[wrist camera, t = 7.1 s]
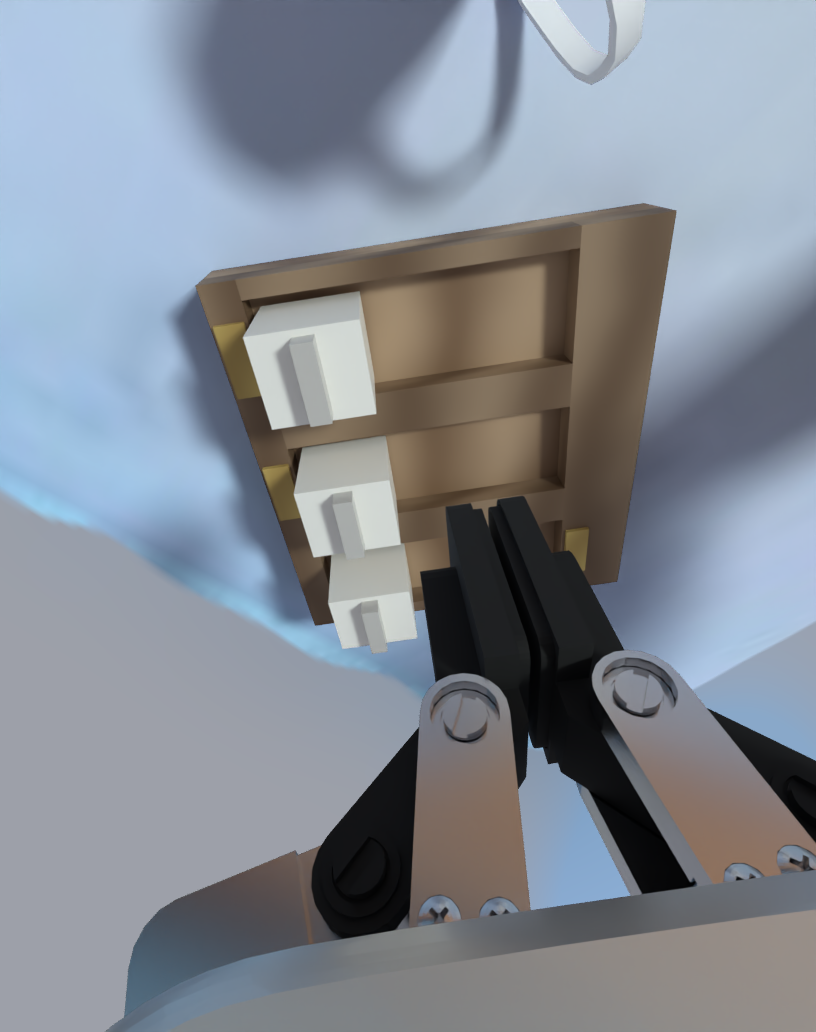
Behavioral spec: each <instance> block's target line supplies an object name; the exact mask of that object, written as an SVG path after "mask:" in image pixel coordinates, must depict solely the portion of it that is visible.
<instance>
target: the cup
mask: <svg viewBox="0 0 816 1032" xmlns="http://www.w3.org/2000/svg"><path fill="white" fill-rule="evenodd" d="M518 2H519V3H520V5H521V7H522V8H523V10H524V11H525V13H526V14H527V16H528V17H529V19H530V20H531V22H532V23H533V24H534V26H535V27H536V29H537V30H538V32H539V33H540V34H541V36H542V37H543V39H544V40H545V41H546V43H547V44H548V46H549V47H550V48H551V50H552V51H553V52H554V54H555V55H556V57H557V58H558V59H559V60H560V62H561V63H562V64H563V65H564V66H565V67H566V68H567V69H568V70H569V71H570V72H571V73H572V75H573V76H574V77H575V78H577V79H579V80H581V81H583V82H586V83H588V84H590V85H593V84H594V83H596V82H598V81H600V80H602V79H604V78H605V77H606V76H607V75H608V74H609V73H611V72H612V71H613V70H614V69H615V68H616V67H617V66H619V65H620V64H621V63H622V62H623V61H624V60H626V59H627V58H628V56H629V55H630V53H631V52H632V51H633V49H634V48H635V46H636V45H637V44H638V42H639V41H640V39H641V35H642V27H643V18H644V10H645V0H606V4H607V9H608V14H609V18H610V22H609V45H608V55H607V54H605V53H602V52H599V51H597V50H594V49H593V48H592V46H591V45H590V44H589V43H588V42H587V41H586V40H585V39H584V37H583V36H582V35H581V34H580V33H579V32H578V31H577V29H576V28H575V27H574V25H573V24H572V23H571V21H570V20H569V19H568V17H567V16H566V15H565V13H564V12H563V11H562V9H561V8H560V6H559V5H558V4H557V2H556V1H555V0H518Z"/></svg>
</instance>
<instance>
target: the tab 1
mask: <svg viewBox="0 0 816 1032" xmlns="http://www.w3.org/2000/svg"><path fill="white" fill-rule="evenodd" d="M243 340H244V343H245V346H246V349H247V352H248V355H249V358H250V362H251V365H252V368H253V371H254V374H255V377H256V380H257V384H258V387H259V390H260V393H261V396H262V399H263V402H264V406H265V409H266V412H267V415H268V418H269V421H270V424H271V428H272V430H274V429H281V428H287V427H294V426H300V425H307V424H310V427H314V426H321V425H328V424H332V422H333V420H340V419H346V418H353V417H360V416H366V415H373V414H376V398H375V381H374V371H373V366H372V360H371V354H370V348H369V343H368V337H367V331H366V325H365V320H364V314H363V308H362V302H361V297H360V291H357V292H350V293H344V294H337V295H331V296H324V297H318V298H312V299H305V300H299V301H292V302H286V303H279V304H273V305H267V306H261V307H260V309H259V311H258V312H257V314H256V316H255V317H254V319H253V321H252V323H251V324H250V326H249V328H248V329H247V331H246V333H245V334H244V336H243Z"/></svg>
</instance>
